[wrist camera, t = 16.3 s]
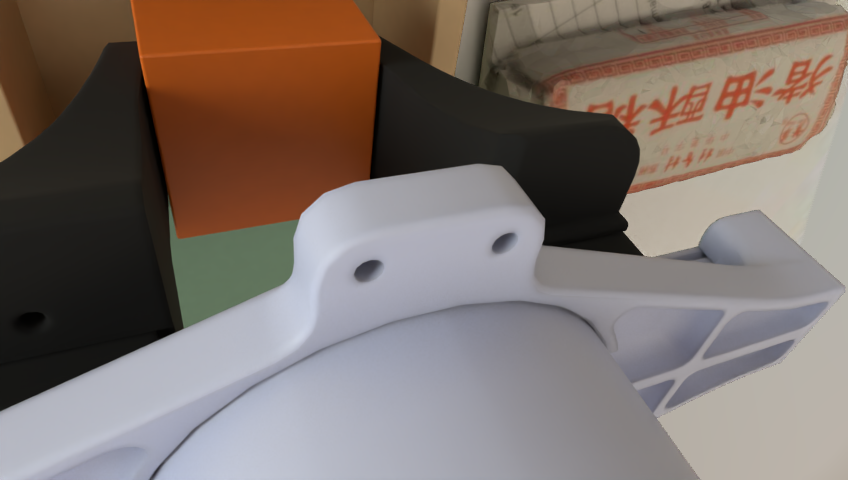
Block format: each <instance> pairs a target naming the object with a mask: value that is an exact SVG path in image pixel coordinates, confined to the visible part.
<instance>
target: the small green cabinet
mask: <svg viewBox="0 0 848 480" xmlns="http://www.w3.org/2000/svg"><path fill="white" fill-rule="evenodd" d="M168 204H169V225H170V245H171V254H172V263H173V269H174V274H175V280H176V286H177V292H178V297H179V303H180V309H181V315H182V320H183V326H184V328H187V327H189V326H191V325H193V324H196V323H198V322H200V321H202V320H204V319H207V318H209V317H211V316H213V315H216V314H218V313H220V312H222V311H224V310H227V309H229V308H231V307H233V306H236V305H238V304H240V303H242V302H244V301H247V300H249V299H251V298H253V297H256V296H258V295H260V294H262V293H264V292H267V291H269V290H271V289H273V288H276V287H278V286H280V285H282V284H284V283H285V282H286V281H287V280H288V279H289V278H290V277H291V275H292V272H293V266H294V243H293V238H294V235H295V232H296V229H297V226H298V222H299V219H298V220H292V221H286V222H280V223H274V224H268V225H262V226H256V227H250V228H244V229H238V230H232V231H226V232H220V233H214V234H208V235H202V236H196V237H190V238H184V239H178V237H177V235H176V230H175V225H174V220H173V216H172V211H171V206H170V201H169V196H168Z"/></svg>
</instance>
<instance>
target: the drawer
mask: <svg viewBox="0 0 848 480" xmlns="http://www.w3.org/2000/svg"><path fill="white" fill-rule="evenodd" d="M353 1H354V2H355V4H356V5H357V6H358V8H359V9H360V11H361V12H362V14H363V15H364V16H365V18H366V19H367V21H368V22H369V24H370V25H371V26H372V28H373V29H374V31H375V32H376V33H377V35H379V36H380V37H382V38H384V39H386V40H387V41H389V42H391V43H393V44H394V45H396V46H398V47H400V48H401V49H403V50H405V51H406V52H408V53H410V54H412V55H413V56H415V57H417V58H419V59H420V60H422V61H424V62H426V63H428V64H430V65H432V66H433V67H435V68H437V69H439V70H441V71H443V72H446V73H448V74H450V75H452V76H454V74H455V69H456V63H457V58H458V52H459V46H460V41H461V35H462V29H463V24H464V18H465V13H466V7H467V1H468V0H353ZM130 41H137V39H136V32H135V26H134V20H133V14H132V8H131V2H130V0H0V162H2V161H3V160H5V159H7V158H8V157H10V156H11V155H12V154H14V153H15V152H17V151H18V150H19V149H21V148H22V147H24V146H25V145H26V144H28V143H29V142H31V141H32V140H33V139H35V138H36V137H37V136H38V135H40V134H41V133H42V132H43V131H44V130H45V129H46V128H48V127H49V126H50V125H51V124H52V123H53V122H54V121H55V120H56V119H57V118H58V117H59V116H60V115H61V113H62V112H63V111H64V110H65V109H66V107H67V106H68V105H69V104H70V102H71V101H72V100H73V99H74V97H75V96H76V95H77V93H78V92H79V91H80V89H81V88H82V86H83V84H84V83H85V81H86V80H87V78H88V77H89V75H90V74H91V72H92V70H93V68H94V67H95V65H96V63H97V61H98V59H99V57H100V55H101V53H102V51H103V49H104V47H105V46H106V45H107V44H108V43H113V42H130Z"/></svg>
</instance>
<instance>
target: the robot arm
mask: <svg viewBox="0 0 848 480" xmlns="http://www.w3.org/2000/svg"><path fill="white" fill-rule="evenodd" d="M378 36H379V35H378ZM379 38H380V39H381V53H380V64H379V76H378V88H377V100H376V112H375V124H374V136H373V148H372V159H371V171H370V180H364V181H358V182H353V183H351V184H348V185H345V186H342V187H339V188H337V189H334V190H331V191H328V192H326V193H324V194H322V195H321V196H320V197H319V198H318V199H317V200H316V201H315V202H314V203H313V204H312V205H311V206H310V207H308V208H307V209H306V210H305V211H304V212H303V213H302V214H301V216H300V219H299V222H298V226H297V229H296V232H295V235H294V238H293V243H294V266H293V272H292V275H291V277H290V278H289V279H288V280H287V281H286V282H285V283H284V284H282V285H280V286H278V287H276V288H273V289H271V290H269V291H267V292H264V293H262V294H260V295H258V296H256V297H253V298H251V299H249V300H247V301H244V302H242V303H240V304H238V305H236V306H233V307H231V308H229V309H227V310H224V311H222V312H220V313H218V314H216V315H213V316H211V317H209V318H207V319H204V320H202V321H200V322H198V323H196V324H193V325H191V326H189V327H187V328H184V326H183V320H182V315H181V309H180V303H179V297H178V292H177V286H176V280H175V274H174V269H173V263H172V254H171V245H170V225H169V204H168V192H167V187H166V182H165V177H164V172H163V168H162V163H161V158H160V153H159V148H158V144H157V139H156V134H155V129H154V124H153V120H152V115H151V110H150V105H149V100H148V96H147V91H146V86H145V81H144V76H143V72H142V67H141V62H140V57H139V51H138V45H137V41H130V42H113V43H108V44H107V45H106V46H105V47H104V49H103V51H102V53H101V55H100V57H99V59H98V61H97V63H96V65H95V67H94V68H93V70H92V72H91V74H90V75H89V77H88V78H87V80H86V81H85V83H84V84H83V86H82V88H81V89H80V91H79V92H78V93H77V95H76V96H75V97H74V99H73V100H72V101H71V102H70V104H69V105H68V106H67V107H66V109H65V110H64V111H63V112H62V113H61V115H60V116H59V117H58V118H57V119H56V120H55V121H54V122H53V123H52V124H51V125H50V126H49V127H48V128H46V129H45V130H44V131H43V132H42V133H41V134H40V135H38V136H37V137H36V138H35V139H33V140H32V141H31V142H29V143H28V144H26V145H25V146H24V147H22V148H21V149H19V150H18V151H17V152H15V153H14V154H12V155H11V156H10V157H8V158H7V159H5V160H3V161H2V162H0V480H700V478H699V477H698V476H697V474H696V473H695V471H694V470H693V469H692V467H691V466H690V464H689V463H688V462H687V460H686V459H685V458H684V456H683V455H682V453H681V452H680V450H679V449H678V448H677V446H676V445H675V443H674V442H673V441H672V439H671V438H670V436H669V435H668V434H667V432H666V431H665V430H664V428H663V427H662V425H661V424H660V422H659V421H658V420H657V418H658V417H660V416H662V415H664V414H666V413H668V412H670V411H672V410H674V409H676V408H678V407H680V406H682V405H684V404H686V403H688V402H690V401H692V400H694V399H696V398H698V397H701V396H703V395H705V394H707V393H709V392H711V391H713V390H715V389H717V388H719V387H722V386H724V385H726V384H728V383H731V382H733V381H735V380H738V379H740V378H742V377H745V376H747V375H749V374H752V373H755V372H757V371H760V370H763V369H765V368H768V367H770V366H773V365H776V364H779V363H780V362H782V361H783V360H784V359H785V358H786V356H787V355H788V354H789V353H790V352H791V351H792V350H793V349H794V347H796V345H797V344H798V343H799V342H800V341H801V340H802V339H803V338H804V337H805V336H806V334H807V333H808V332H809V331H810V330H811V329H812V328H813V327H814V326H815V325H816V323H817V322H818V321H819V320H820V319H821V318H822V317H823V316H824V315H825V314H826V312H827V311H828V310H829V309H830V308H831V307H832V306H833V305H834V304H835V302H836V301H837V300H838V299H839V298H840V297H841V296H842V295H843V294H844V293H845V286H844V285H843V284H842V283H841V282H840V281H838V280H837V279H836V278H835V277H834V276H833V275H832V274H831V273H830V272H828V271H827V270H826V269H825V268H824V267H823V266H822V265H820V264H819V263H818V262H817V261H816V260H815V259H814V258H812V256H810V255H809V254H808V253H807V252H806V251H805V250H804V249H803V248H801V247H800V246H799V245H798V244H797V243H796V242H795V241H794V240H793V239H791V238H790V237H789V236H788V235H787V234H786V233H785V232H784V231H782V230H781V229H780V228H779V227H778V226H777V225H776V224H775V223H774V222H772V221H771V220H770V219H769V218H768V217H767V216H766V215H765V214H763V213H762V212H761V211H760V210H754V211H749V212H744V213H740V214H735V215H731V216H726V217H723V218H720V219H718V220H716V221H715V222H714V223H712V224H711V225H710V226H709V227H708V228H707V230H706V231H705V233H704V234H703V236H702V238H701V240H700V242H699V246H698V247H694V248H690V249H686V250H681V251H677V252H673V253H669V254H665V255H660V256H656V257H647V256H644V255H643V254H642V253H641V252H640V251H639V250H638V249H637V247H636V246H635V245H634V244H633V243H632V242H631V240H630V239H629V238H628V237H627V236H626V235H625V234H624V232H623V231H626V230H627V228H628V222H627V220H626V219H625V218H624V217H623V216H622V215H621V214H620V213H619V210H620V208H621V205H622V203H623V201H624V199H625V197H626V195H627V192H628V190H629V188H630V186H631V184H632V182H633V179H634V177H635V174H636V171H637V168H638V165H639V162H640V147H639V144H638V141H637V138H636V137H635V136H634V135H633V134H632V133H631V132H630V131H629V130H628V129H627V128H626V127H625V126H624V125H623V124H622V123H621V122H620V121H619V120H618V119H617V118H616V117H615V116H614V115H612V114H603V113H593V112H583V111H573V110H566V109H560V108H555V107H549V106H543V105H539V104H534V103H530V102H525V101H522V100H518V99H515V98H511V97H507V96H504V95H500V94H497V93H494V92H491V91H488V90H486V89H483V88H480V87H478V86H475V85H473V84H470V83H467V82H465V81H463V80H460V79H458V78H456V77H454V76H452V75H450V74H448V73H446V72H443V71H441V70H439V69H437V68H435V67H433V66H432V65H430V64H428V63H426V62H424V61H422V60H420V59H419V58H417V57H415V56H413V55H412V54H410V53H408V52H406V51H405V50H403V49H401V48H400V47H398V46H396V45H394V44H393V43H391V42H389V41H387V40H386V39H384V38H382V37H380V36H379Z"/></svg>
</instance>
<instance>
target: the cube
mask: <svg viewBox="0 0 848 480" xmlns="http://www.w3.org/2000/svg"><path fill="white" fill-rule="evenodd" d="M130 2H131V8H132V14H133V20H134V26H135V32H136V39H137V45H138V51H139V57H140V62H141V67H142V72H143V76H144V81H145V86H146V91H147V96H148V100H149V105H150V110H151V115H152V120H153V124H154V129H155V134H156V139H157V144H158V148H159V153H160V158H161V163H162V168H163V172H164V177H165V182H166V187H167V192H168V196H169V201H170V206H171V211H172V216H173V220H174V225H175V230H176V235H177V237H178V239H184V238H190V237H196V236H202V235H208V234H214V233H220V232H226V231H232V230H238V229H244V228H250V227H256V226H262V225H268V224H274V223H280V222H286V221H292V220H298V219H300V216H301V214H302V213H303V212H304V211H305V210H306V209H307V208H308V207H310V206H311V205H312V204H313V203H314V202H315V201H316V200H317V199H318V198H319V197H320V196H321V195H322V194H324V193H326V192H328V191H331V190H334V189H337V188H339V187H342V186H345V185H348V184H351V183H353V182H358V181H364V180H370V171H371V159H372V148H373V136H374V124H375V112H376V100H377V88H378V76H379V64H380V53H381V39H380V38H379V36H378V35H377V33H376V32H375V31H374V29H373V28H372V26H371V25H370V24H369V22H368V21H367V19H366V18H365V16H364V15H363V14H362V12H361V11H360V9H359V8H358V6H357V5H356V4H355V2H354V1H353V0H130Z"/></svg>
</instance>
